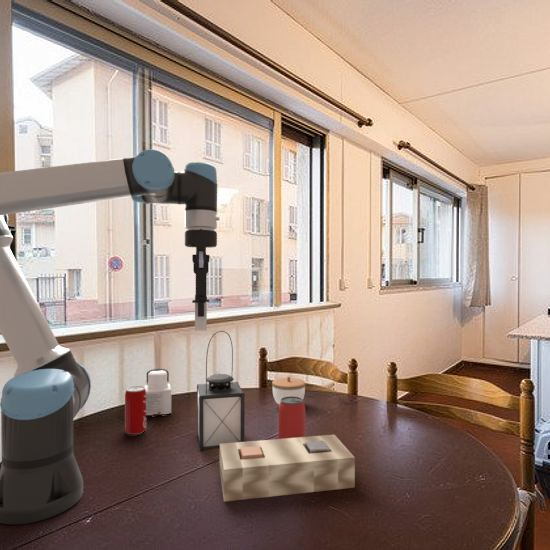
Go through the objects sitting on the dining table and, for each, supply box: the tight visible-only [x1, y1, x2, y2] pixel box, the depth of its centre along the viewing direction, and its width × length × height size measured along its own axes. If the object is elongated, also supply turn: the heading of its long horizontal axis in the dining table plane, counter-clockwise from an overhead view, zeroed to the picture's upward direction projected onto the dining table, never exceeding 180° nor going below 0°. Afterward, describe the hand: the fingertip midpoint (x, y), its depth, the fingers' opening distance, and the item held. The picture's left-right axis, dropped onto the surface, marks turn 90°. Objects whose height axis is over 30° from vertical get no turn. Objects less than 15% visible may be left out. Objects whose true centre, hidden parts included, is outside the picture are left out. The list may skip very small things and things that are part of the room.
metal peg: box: [305, 441, 329, 454], centre depth 87 cm, size 4×4×6 cm
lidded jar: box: [271, 376, 306, 405], centre depth 134 cm, size 11×11×9 cm
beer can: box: [278, 396, 306, 439], centre depth 101 cm, size 7×7×12 cm
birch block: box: [219, 434, 356, 502], centre depth 86 cm, size 26×12×6 cm, turn 101°
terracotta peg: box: [240, 446, 263, 460], centre depth 84 cm, size 4×4×6 cm
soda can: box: [124, 385, 147, 435], centre depth 111 cm, size 6×6×12 cm
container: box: [144, 368, 172, 415], centre depth 127 cm, size 8×8×13 cm
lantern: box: [196, 330, 245, 452], centre depth 106 cm, size 11×11×28 cm
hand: (200, 330), depth 98 cm, fingers closed
